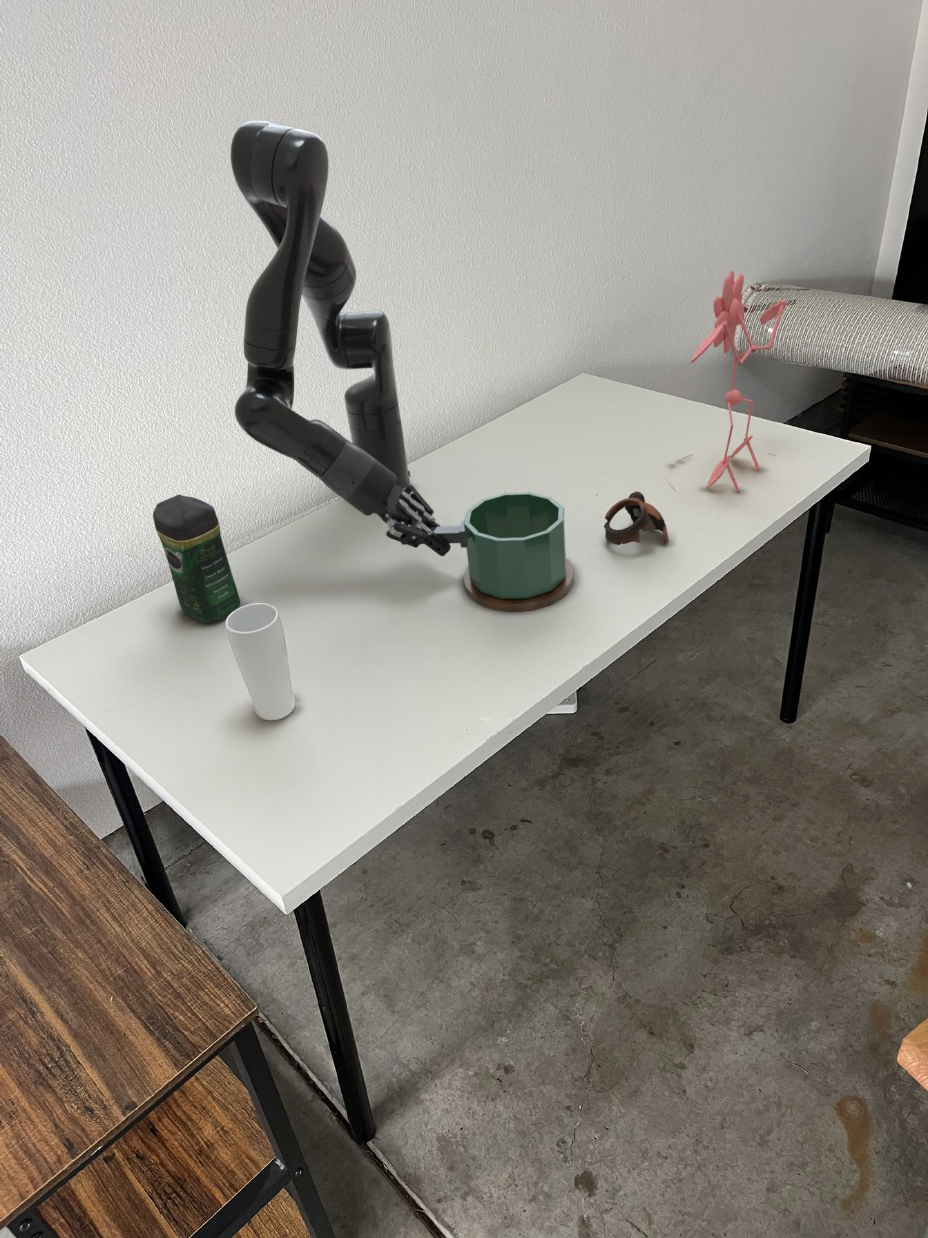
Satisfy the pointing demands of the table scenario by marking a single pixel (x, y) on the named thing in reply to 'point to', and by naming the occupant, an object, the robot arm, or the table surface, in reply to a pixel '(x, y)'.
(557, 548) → the pot
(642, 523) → the brown ring-shaped piece
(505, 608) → the disc
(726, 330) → the figurine
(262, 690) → the drinking glass
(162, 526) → the coffee jar
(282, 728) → the table surface
